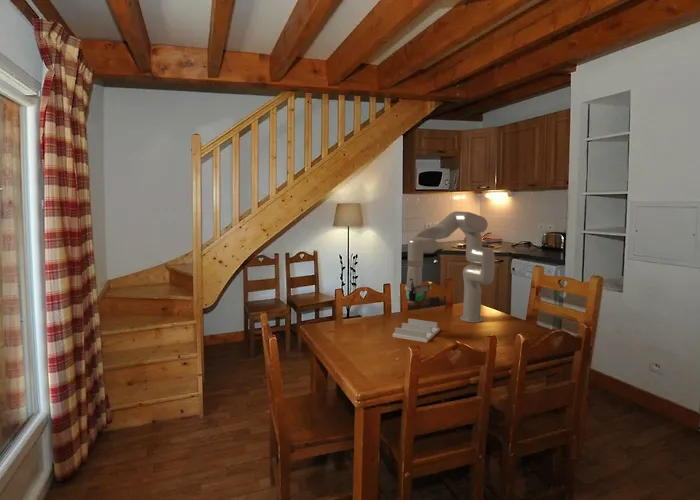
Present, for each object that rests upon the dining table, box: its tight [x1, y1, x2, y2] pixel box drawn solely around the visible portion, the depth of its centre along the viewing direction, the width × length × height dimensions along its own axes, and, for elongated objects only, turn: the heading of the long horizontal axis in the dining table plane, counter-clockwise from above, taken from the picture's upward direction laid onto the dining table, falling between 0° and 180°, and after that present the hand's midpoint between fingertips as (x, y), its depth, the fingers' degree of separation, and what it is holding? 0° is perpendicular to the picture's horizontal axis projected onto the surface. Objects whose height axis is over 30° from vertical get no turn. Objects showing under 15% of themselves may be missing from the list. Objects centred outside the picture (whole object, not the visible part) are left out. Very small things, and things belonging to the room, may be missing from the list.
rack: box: [392, 318, 441, 343], centre depth 232 cm, size 21×18×4 cm
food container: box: [404, 283, 429, 308], centre depth 225 cm, size 12×6×10 cm, turn 62°
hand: (414, 298), depth 226 cm, fingers closed on food container, 6 cm apart
